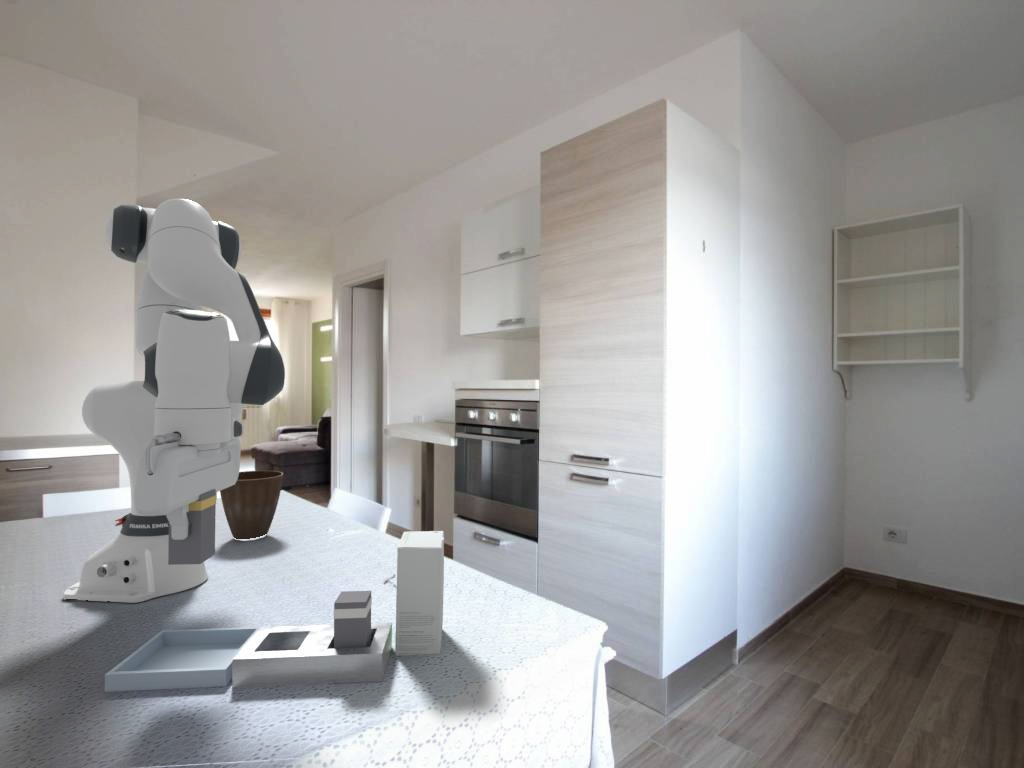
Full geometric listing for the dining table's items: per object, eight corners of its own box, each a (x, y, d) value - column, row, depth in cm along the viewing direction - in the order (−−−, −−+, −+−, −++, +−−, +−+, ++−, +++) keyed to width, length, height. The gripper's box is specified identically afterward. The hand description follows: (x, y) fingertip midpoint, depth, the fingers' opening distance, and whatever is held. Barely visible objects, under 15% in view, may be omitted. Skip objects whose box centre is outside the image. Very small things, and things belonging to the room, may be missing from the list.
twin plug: (333, 673, 68) (333, 603, 68) (340, 657, 72) (341, 591, 72) (365, 672, 68) (366, 602, 69) (371, 656, 73) (371, 590, 73)
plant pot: (294, 535, 137) (295, 473, 137) (239, 549, 124) (239, 481, 125) (261, 527, 145) (261, 469, 145) (205, 540, 132) (206, 476, 133)
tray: (104, 696, 64) (104, 674, 64) (161, 648, 76) (161, 630, 76) (225, 690, 65) (225, 669, 65) (262, 644, 77) (262, 626, 77)
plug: (167, 564, 69) (168, 495, 69) (184, 554, 73) (185, 489, 73) (200, 564, 69) (201, 495, 69) (215, 554, 73) (216, 489, 73)
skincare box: (401, 632, 81) (402, 530, 81) (445, 631, 81) (445, 529, 82) (394, 660, 73) (394, 546, 73) (442, 658, 73) (442, 545, 73)
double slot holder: (232, 692, 65) (232, 659, 65) (260, 656, 74) (260, 627, 74) (381, 685, 66) (382, 653, 66) (391, 650, 75) (391, 622, 75)
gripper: (176, 436, 61) (174, 556, 61) (248, 424, 81) (247, 514, 81) (118, 436, 60) (116, 557, 60) (205, 423, 81) (204, 514, 81)
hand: (192, 532), depth 71 cm, fingers closed on plug, 4 cm apart
